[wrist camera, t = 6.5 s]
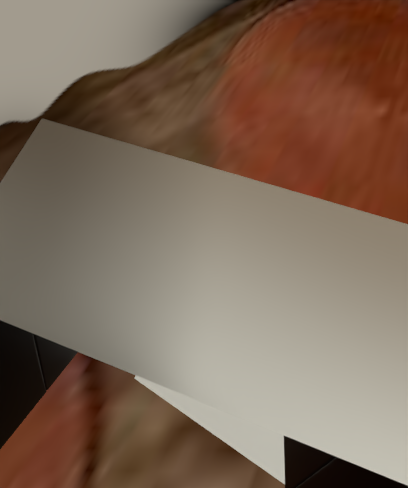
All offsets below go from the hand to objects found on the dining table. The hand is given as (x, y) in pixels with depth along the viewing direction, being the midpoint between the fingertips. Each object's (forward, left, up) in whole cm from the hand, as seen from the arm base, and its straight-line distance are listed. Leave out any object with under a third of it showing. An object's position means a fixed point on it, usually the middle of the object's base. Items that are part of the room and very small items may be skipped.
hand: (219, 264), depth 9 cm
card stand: (-1, 0, -7) cm, 7 cm away
